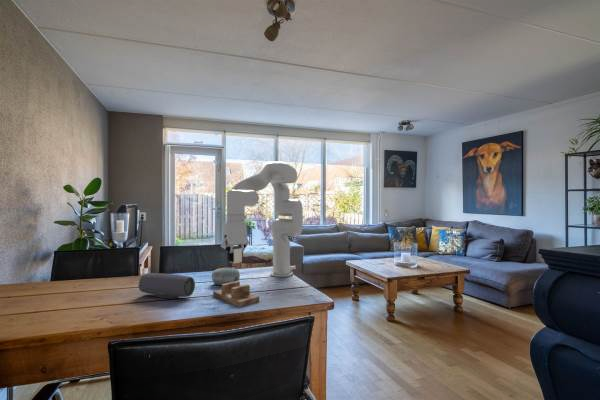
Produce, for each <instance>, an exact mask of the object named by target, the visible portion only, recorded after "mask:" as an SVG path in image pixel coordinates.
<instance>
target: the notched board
mask: <svg viewBox="0 0 600 400" xmlns="http://www.w3.org/2000/svg"><path fill="white" fill-rule="evenodd" d="M250 288H251V286H250V284H247V283H246V284H241V282H240V280H239V281H234V282H230V283H225V284H222V285H221V289H218V290H213V292H212V295H213V297H215V298H218V299H220V300H222V301H224V302H226V303H229V304H231V305H233V306H236V307H238V308H242V307H245V306H247V305H251V304H255V303H259V302H260V296H259V295H256V294H253V293H251V291H250Z"/></svg>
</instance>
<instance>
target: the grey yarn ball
mask: <svg viewBox="0 0 600 400" xmlns="http://www.w3.org/2000/svg"><path fill="white" fill-rule="evenodd" d="M211 279H212V280H211V281H212V283H213V284H214V285H216V286H217V285H218V286H222V284H225V283H230V282H234V281H239V282H240V272H239V269H237V268H235V267H219V268H216V269H215V270H213V271H212V273H211Z"/></svg>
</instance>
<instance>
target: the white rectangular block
mask: <svg viewBox="0 0 600 400" xmlns="http://www.w3.org/2000/svg"><path fill="white" fill-rule="evenodd" d="M232 253H234V262H229V263H231V264H239V263H242V262H243V261H242V247H240V246H238V245H234V246H233V252H232Z"/></svg>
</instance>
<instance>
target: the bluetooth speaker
mask: <svg viewBox="0 0 600 400" xmlns="http://www.w3.org/2000/svg"><path fill="white" fill-rule="evenodd" d="M195 288H196V283H195V279H194V277H192V276H187V275H181V274H180V275H179V274H174V273H163V272H162V273H160V272H159V273H158V272H157V273H156V272H148V273H144V274H142V276H141V277H140V279H139V281H138V289H139V291H140V292H141V293H145V294H149V295H155V297H156V298H160V299H173V300H174V299H177V298H185V297H186V298H187V297H188V298H189V297H190V296H192V295H193V293H194V291H195Z"/></svg>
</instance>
